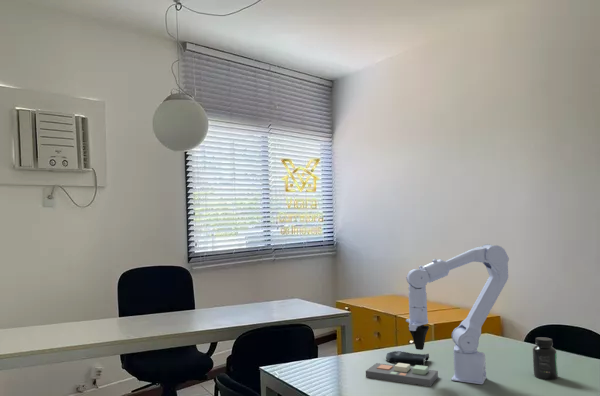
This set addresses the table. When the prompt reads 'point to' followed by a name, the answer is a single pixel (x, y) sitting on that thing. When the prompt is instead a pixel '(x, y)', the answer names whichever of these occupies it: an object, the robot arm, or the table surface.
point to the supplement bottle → (545, 359)
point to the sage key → (420, 370)
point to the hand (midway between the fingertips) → (419, 349)
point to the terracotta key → (385, 367)
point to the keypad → (402, 375)
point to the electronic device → (407, 358)
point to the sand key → (402, 367)
